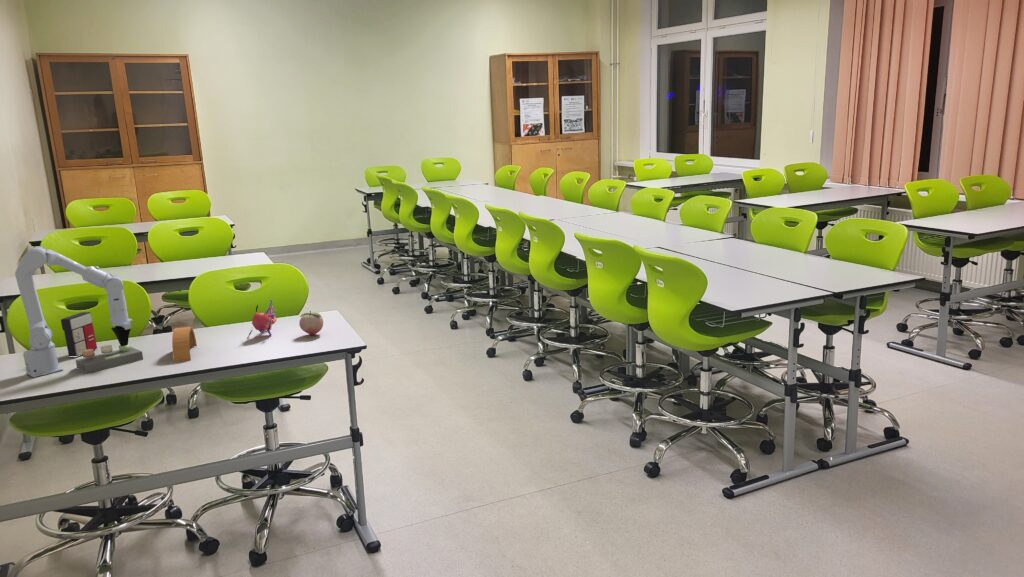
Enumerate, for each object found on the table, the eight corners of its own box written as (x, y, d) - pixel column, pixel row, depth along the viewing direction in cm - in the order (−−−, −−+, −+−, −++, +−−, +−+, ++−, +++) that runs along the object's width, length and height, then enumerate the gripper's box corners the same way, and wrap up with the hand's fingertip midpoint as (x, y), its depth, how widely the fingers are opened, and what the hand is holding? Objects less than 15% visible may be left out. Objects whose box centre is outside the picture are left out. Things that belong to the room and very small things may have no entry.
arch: (173, 362, 264) (169, 336, 261) (181, 348, 282) (177, 322, 280) (190, 360, 265) (186, 334, 263) (197, 346, 284) (193, 321, 282)
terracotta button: (85, 358, 259) (84, 352, 259) (81, 356, 262) (80, 351, 261) (96, 355, 262) (95, 350, 261) (92, 353, 264) (91, 348, 264)
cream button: (103, 353, 264) (102, 348, 263) (99, 352, 266) (99, 346, 266) (114, 351, 266) (113, 346, 266) (110, 349, 269) (109, 344, 268)
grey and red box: (77, 358, 275) (70, 319, 272) (67, 357, 276) (60, 319, 273) (98, 349, 286) (92, 311, 283) (89, 349, 287) (82, 311, 284)
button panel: (86, 373, 256) (84, 364, 255) (77, 368, 263) (75, 359, 262) (143, 359, 269) (141, 350, 269) (132, 354, 276) (131, 346, 275)
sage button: (121, 352, 268) (120, 347, 268) (118, 350, 270) (117, 345, 270) (132, 350, 271) (131, 344, 270) (128, 348, 273) (127, 343, 273)
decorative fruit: (328, 331, 294) (325, 307, 292) (320, 337, 286) (318, 312, 284) (305, 332, 295) (303, 308, 293) (297, 338, 287) (294, 313, 285)
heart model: (244, 344, 286) (253, 322, 304) (269, 348, 288) (277, 326, 306) (249, 305, 280) (258, 285, 298) (275, 309, 282) (283, 289, 300)
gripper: (137, 309, 265) (143, 345, 268) (122, 304, 275) (128, 339, 278) (116, 314, 260) (122, 350, 263) (102, 308, 270) (108, 344, 273)
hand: (124, 345), depth 270 cm, fingers closed, pressing on sage button
